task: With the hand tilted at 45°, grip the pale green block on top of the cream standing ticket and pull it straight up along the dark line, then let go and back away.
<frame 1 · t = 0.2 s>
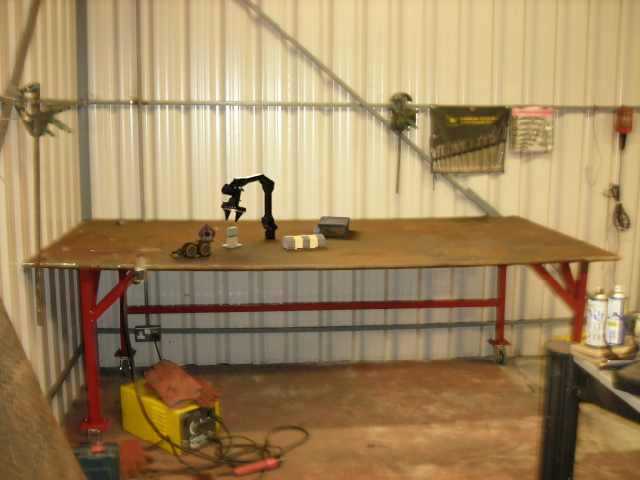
hand: (230, 221, 417), 16 cm above the table, tool tilted 15°, fingers open, 9 cm apart
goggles: (194, 255, 393), on the table
pale green block: (232, 231, 415), point 9 cm above the table, slide at 0.0 cm
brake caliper: (207, 240, 435), on the table
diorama: (303, 248, 417), on the table
ticket stand: (232, 246, 417), on the table
metal box: (333, 234, 464), on the table
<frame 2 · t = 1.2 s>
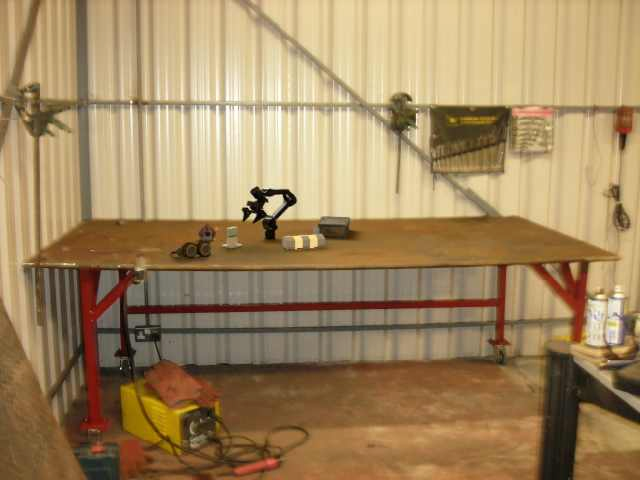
hand: (247, 222, 425), 13 cm above the table, tool tilted 45°, fingers open, 9 cm apart
nothing on the table moved.
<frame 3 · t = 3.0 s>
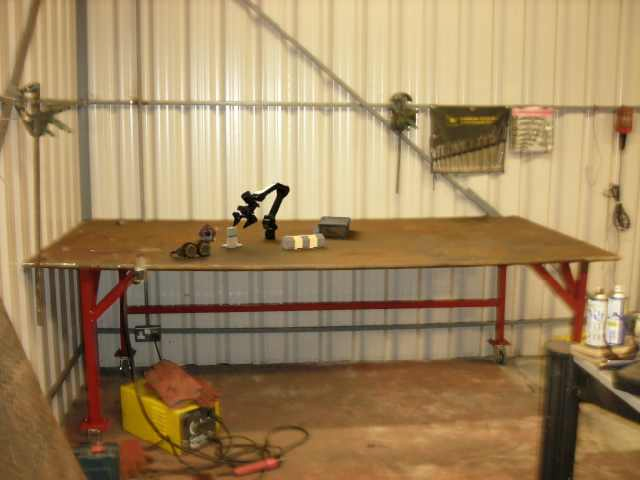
hand: (238, 227, 419), 11 cm above the table, tool tilted 45°, fingers open, 9 cm apart
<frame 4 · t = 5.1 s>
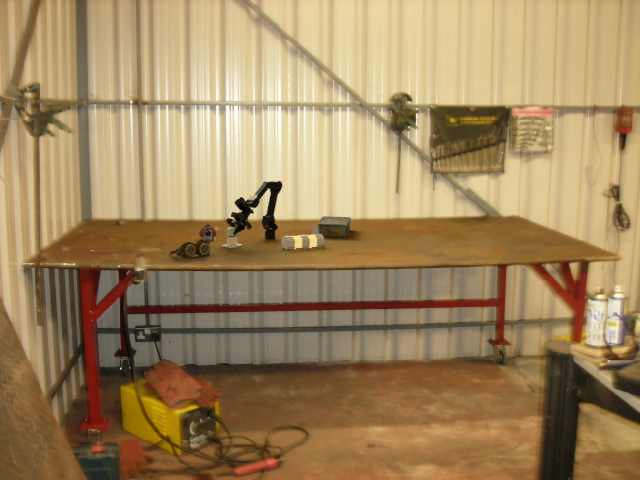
hand: (232, 234, 415), 8 cm above the table, tool tilted 45°, fingers closed on pale green block, 2 cm apart
pale green block: (232, 231, 415), point 9 cm above the table, slide at 0.0 cm, touching gripper
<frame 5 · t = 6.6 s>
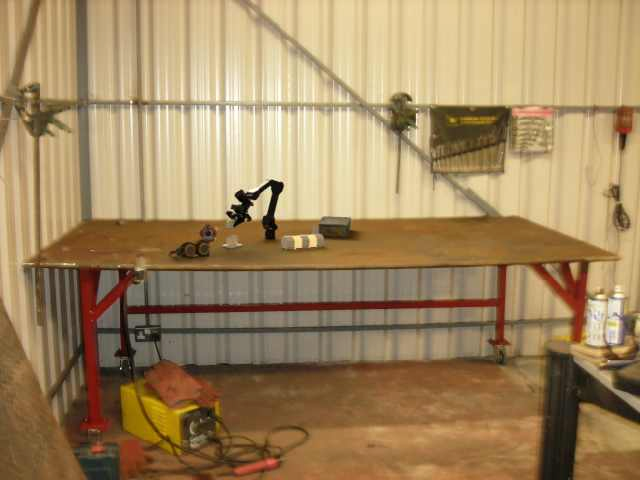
hand: (232, 226, 414), 13 cm above the table, tool tilted 45°, fingers closed on pale green block, 2 cm apart
pale green block: (231, 224, 414), point 14 cm above the table, slide at 4.9 cm, touching gripper
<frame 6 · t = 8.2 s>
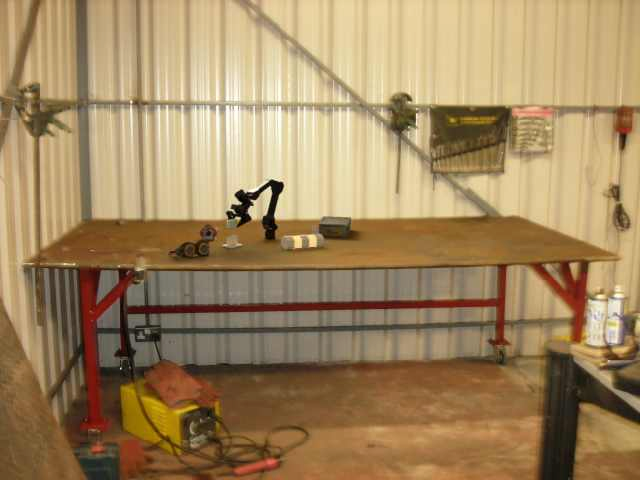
hand: (232, 226, 414), 13 cm above the table, tool tilted 45°, fingers open, 9 cm apart
pale green block: (231, 224, 414), point 14 cm above the table, slide at 4.9 cm
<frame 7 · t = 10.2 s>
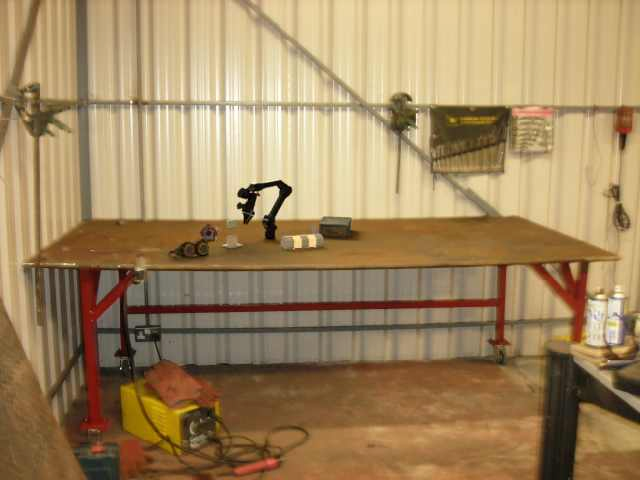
hand: (245, 224, 429), 12 cm above the table, tool tilted 20°, fingers open, 9 cm apart
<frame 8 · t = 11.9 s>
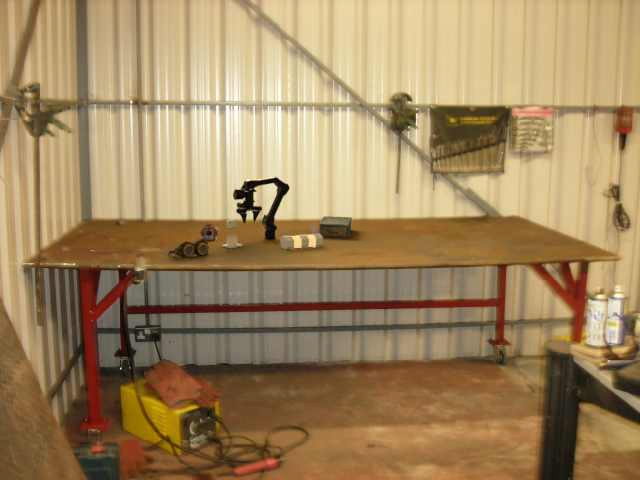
hand: (249, 222, 434), 12 cm above the table, tool pointing down, fingers open, 9 cm apart
at the end: pale green block slide at 4.9 cm; the gripper is holding nothing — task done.
